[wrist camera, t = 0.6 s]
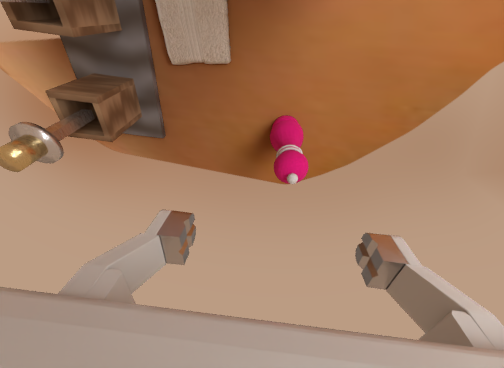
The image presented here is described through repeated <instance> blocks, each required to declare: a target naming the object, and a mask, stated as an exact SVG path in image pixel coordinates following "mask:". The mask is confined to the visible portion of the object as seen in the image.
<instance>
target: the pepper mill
mask: <svg viewBox="0 0 504 368" xmlns="http://www.w3.org/2000/svg"><path fill="white" fill-rule="evenodd" d="M270 141H271V144H272V146H273V148H274V149H275V150H276V151H277V154H276V160H275V162H274V172H275V174H276V176H277V178H278V179H279V180H281V181H282V182H285V183H289V184H295V183H297V182H299V181H301V180H302V179H303V178H304V177H305V176H306V174H307V172H308V161H307V159H306V157H305V156H304V155H303V153H302V150H301V149H300V147H301V145H302V142H303V130H302V128H301V126H300V125H299V124H298V122H297V120H296V119H295V118H293V117H292V116H281V117H279V118H278V119H276V120H275V122H274V123H273V125H272V130H271V133H270Z"/></svg>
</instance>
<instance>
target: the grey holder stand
mask: <svg viewBox="0 0 504 368" xmlns="http://www.w3.org/2000/svg"><path fill="white" fill-rule="evenodd" d="M49 1H50V3H32V2H1V4H2V5H3V8H4V10H5V11H6V14H7V16H8V18H9V20H10V22H11V24H12V26H13V27H14V29H20V30H27V31H35V32H41V33H48V34H55V35H60V37H61V40H62V42H63V45H64V47H65V50H66V52H67V55H68V57H69V60H70V63H71V65H72V68H73V70H74V73H75V75H76V78H77V80H74V81H71V82H68V83H66V84H63V85H60V86H57V87H55V88H52V89H49V90H46V93H47V95H48V97H49V99H50V101H51V103H52V105H53V107H54V109H55V111H56V113H57V115H58V117H59V119H60V121H61V120H63V119H64V118H66V117H68V116H70V115H72V114H74V113H76V112H78V111H79V110H81V109H87V110H92V112H93V115H94V117H95V119H94V120H92V121H91V122H89V123H87V124H86V125H84V126H83V127H81V128H80V129H78V130H76V131H75V132H73V133H72V134H70V135H68V136H70V137H77V138H86V139H93V140H101V141H108V142H113V141H114V140H115V139H116V138H117V137H119V136H120V135H121V134H122V133H125V134H133V135H141V136H148V137H156V138H164V137H165V136H166V135H165V129H164V123H163V118H162V112H161V106H160V100H159V94H158V88H157V83H156V77H155V71H154V65H153V59H152V53H151V48H150V42H149V36H148V30H147V24H146V18H145V13H144V7H143V1H142V0H49Z"/></svg>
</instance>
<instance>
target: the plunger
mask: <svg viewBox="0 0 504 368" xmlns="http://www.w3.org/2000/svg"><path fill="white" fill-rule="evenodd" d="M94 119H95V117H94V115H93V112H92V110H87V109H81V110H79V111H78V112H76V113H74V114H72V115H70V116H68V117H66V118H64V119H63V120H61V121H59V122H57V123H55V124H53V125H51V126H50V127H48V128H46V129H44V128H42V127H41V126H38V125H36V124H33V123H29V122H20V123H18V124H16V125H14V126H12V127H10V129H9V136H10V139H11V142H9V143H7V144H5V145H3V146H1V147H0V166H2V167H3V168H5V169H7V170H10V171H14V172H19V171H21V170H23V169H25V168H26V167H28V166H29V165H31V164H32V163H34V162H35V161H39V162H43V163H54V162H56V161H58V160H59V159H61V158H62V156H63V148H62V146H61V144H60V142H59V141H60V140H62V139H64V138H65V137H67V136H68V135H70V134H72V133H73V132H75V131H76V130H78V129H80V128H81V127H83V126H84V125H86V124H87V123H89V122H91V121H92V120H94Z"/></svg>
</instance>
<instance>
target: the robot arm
mask: <svg viewBox="0 0 504 368" xmlns="http://www.w3.org/2000/svg"><path fill="white" fill-rule="evenodd" d="M194 220H195V218H194V214H193V213H187V212H179V211H170V210H161V211H160V212H159V213H158V214H157V216H156V217H155V219H154V220H153V221H152V223H151V224H150V226H149V227H148V228H147V230H146V231H145V233H144V234H141V233H140V234H139V235H137V236H135V237H133V238H132V239H130V240H128V241H126V242H124V243H122V244H120V245H118V246H117V247H115V248H113V249H111V250H109V251H107V252H106V253H104V254H102V255H100V256H98V257H96V258H95V259H93V260H91V261H89V262H87V263H85V264H84V265H83V266H82V267H81V269H79V271H78V272H77V273H76V274H75V275H74V276H73V277H72V278H71V280H70V281H69V282H68V283H67V284H66V285H65V286H64V287H63V289H62V290H61V291H60V292H59V293H58V294H51V293H44V292H36V291H28V290H21V289H12V288H5V287H0V368H504V327H503V325H502V324H501V323H500V322H499V320H498V319H497V318H496V317H495V316H494V315H493V314H492V313H490V312H489V311H488V310H486V309H485V308H484V307H482V306H481V305H479V304H478V303H476V302H475V301H473V300H472V299H471V298H469V297H468V296H467V295H465V294H464V293H462V292H461V291H460V290H458V289H457V288H455V287H454V286H452V285H451V284H450V283H448V282H447V281H445V280H444V279H443V278H441V277H440V276H438V275H437V274H435V273H434V272H433V271H431V270H430V269H429V268H427V267H425V266H422V265H421V264H420V262H419V261H418V259H417V258H416V257H415V255H414V254H413V252H412V251H411V249H410V248H409V246H408V245H407V244H406V242H405V241H404V239H403V238H401V237H400V236H394V235H383V234H373V233H365V234H364V235H363V236H362V238H361V239H362V241H363V242H362V243H361V244H359V245H358V246H357V248H356V255H355V256H356V261H357V263H358V265H359V266H360V267H361V268H362V269H363V271H362V273H361V274H362V276H363V279H364V281H365V284H366V286H367V287H371V288H378V289H384V290H386V291H387V292H388V293H389V294H390V295H391V297H393V299H394V300H395V301H396V302H397V303H398V304H399V305H400V306H401V307H402V308H403V309H404V311H405V312H406V313H407V314H408V315H409V316H410V317H411V318H412V319H413V320H414V321H415V322H416V323H417V325H418V326H419V327H420V328H421V329H422V330H423V331H424V332H425V335H423V336H422V337H421V338H420V339H419V340H413V339H405V338H397V337H390V336H382V335H374V334H366V333H358V332H350V331H343V330H335V329H327V328H318V327H311V326H303V325H295V324H288V323H279V322H272V321H264V320H255V319H248V318H239V317H232V316H224V315H216V314H208V313H201V312H193V311H185V310H176V309H169V308H161V307H153V306H146V305H145V306H144V305H138V304H135V301H134V299H133V297H132V295H131V294H132V293H133V292H134V291H135V290H136V289H138V288H139V287H140V286H141V285H142V284H143V283H145V282H146V281H147V280H148V279H149V278H151V277H152V276H153V275H154V274H155V273H156V272H157V271H159V270H160V269H161V268H162V267H163V266H164V265H166V263H170V264H180V265H184V264H185V262H186V259H187V257H188V255H189V247H191V246H192V245H193V242H194V239H195V235H196V227H195V225H194V224H193V222H194Z"/></svg>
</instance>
